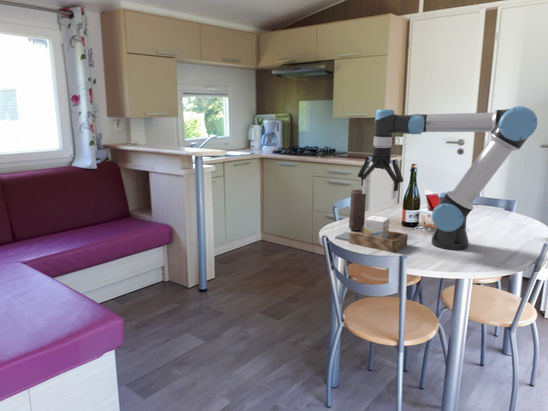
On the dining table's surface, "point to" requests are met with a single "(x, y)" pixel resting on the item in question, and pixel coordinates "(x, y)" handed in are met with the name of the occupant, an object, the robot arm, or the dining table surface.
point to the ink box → (377, 226)
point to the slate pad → (344, 236)
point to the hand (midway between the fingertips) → (378, 195)
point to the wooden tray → (380, 241)
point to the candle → (357, 210)
